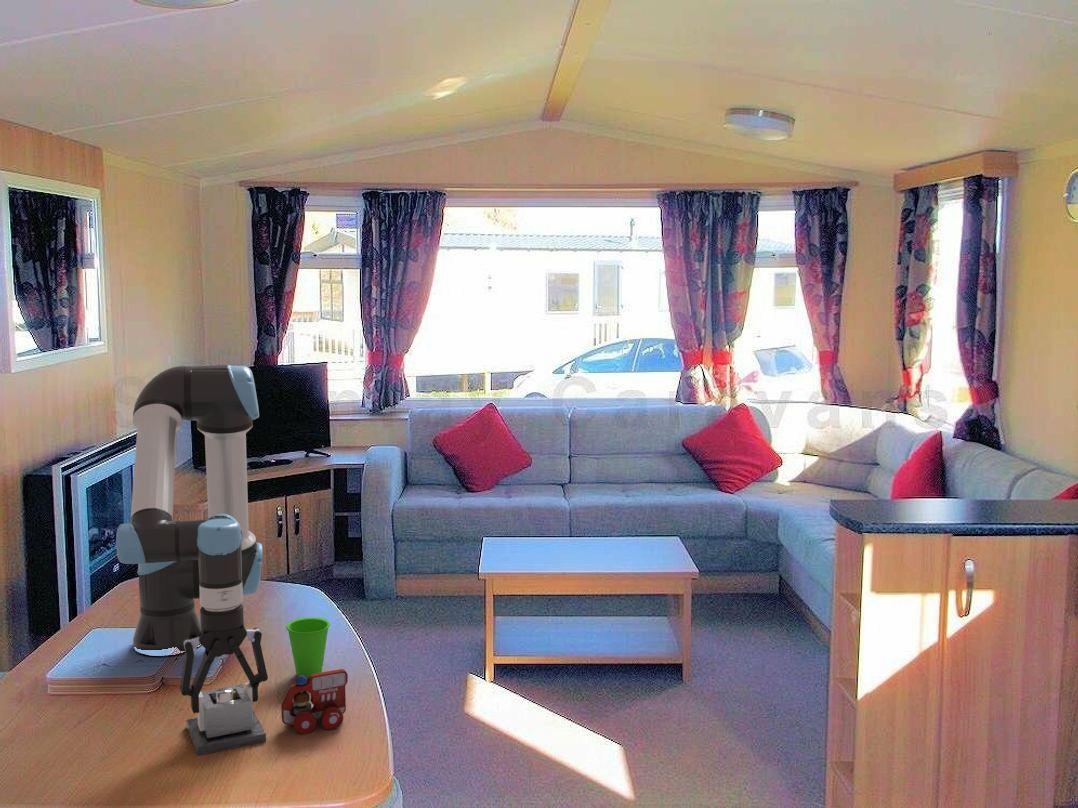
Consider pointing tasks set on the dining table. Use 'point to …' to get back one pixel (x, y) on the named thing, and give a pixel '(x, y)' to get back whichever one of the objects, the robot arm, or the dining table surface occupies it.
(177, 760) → the dining table surface
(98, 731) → the dining table surface
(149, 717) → the dining table surface
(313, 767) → the dining table surface
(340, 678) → the toy fire truck
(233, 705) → the grey block with hole
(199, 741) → the shaft stand
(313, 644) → the cup
